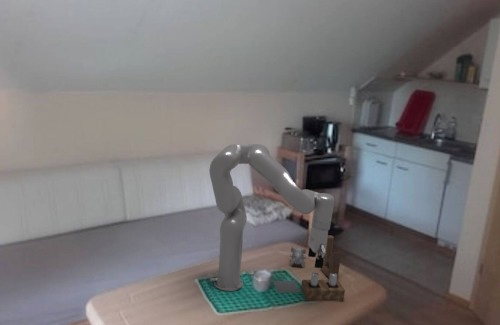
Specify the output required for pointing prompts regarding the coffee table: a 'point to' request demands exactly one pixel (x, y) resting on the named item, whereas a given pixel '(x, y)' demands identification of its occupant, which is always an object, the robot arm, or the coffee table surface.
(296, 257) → the gray elephant figurine
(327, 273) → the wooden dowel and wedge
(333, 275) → the seated peg
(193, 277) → the coffee table surface
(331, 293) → the hole block
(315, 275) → the peg
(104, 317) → the coffee table surface
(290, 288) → the mat
